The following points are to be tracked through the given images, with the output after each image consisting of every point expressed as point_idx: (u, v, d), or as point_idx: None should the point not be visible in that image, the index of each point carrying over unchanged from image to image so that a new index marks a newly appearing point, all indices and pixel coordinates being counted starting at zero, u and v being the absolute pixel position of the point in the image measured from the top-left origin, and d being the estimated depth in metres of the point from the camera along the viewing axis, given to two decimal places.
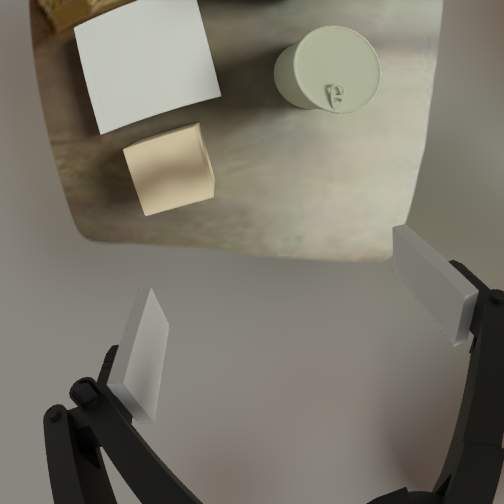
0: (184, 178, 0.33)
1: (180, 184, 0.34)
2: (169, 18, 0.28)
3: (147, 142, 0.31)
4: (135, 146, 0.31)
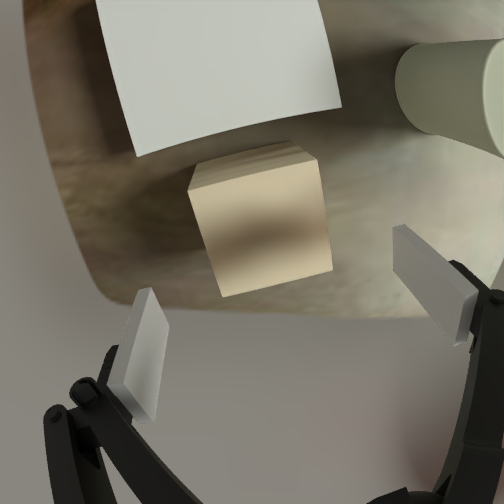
0: (293, 242, 0.21)
1: (285, 252, 0.21)
2: None
3: (234, 181, 0.19)
4: (211, 186, 0.19)
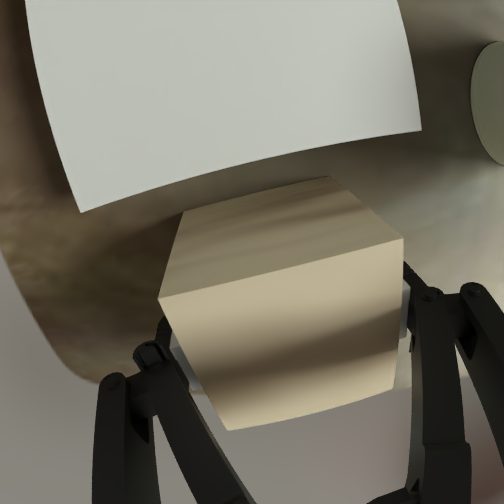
0: (343, 366, 0.12)
1: (328, 379, 0.12)
2: None
3: (248, 282, 0.10)
4: (203, 292, 0.10)
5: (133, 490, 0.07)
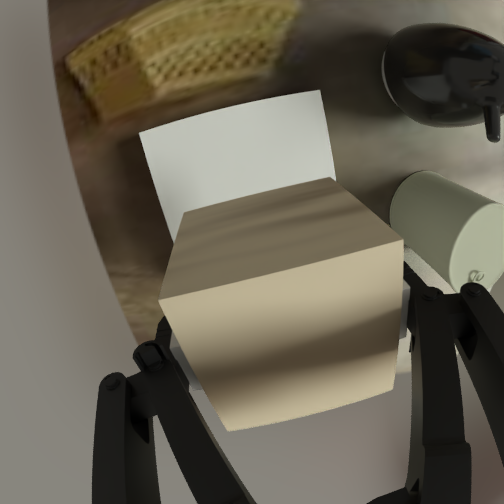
0: (344, 367, 0.12)
1: (328, 380, 0.12)
2: (289, 141, 0.25)
3: (248, 283, 0.10)
4: (203, 293, 0.10)
5: (133, 490, 0.07)
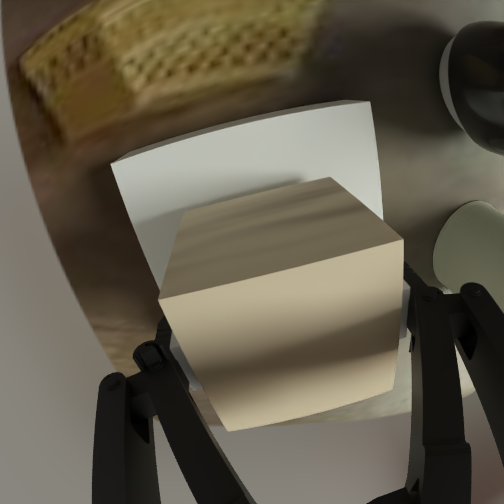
0: (344, 366, 0.12)
1: (328, 380, 0.12)
2: (325, 175, 0.18)
3: (248, 283, 0.10)
4: (203, 293, 0.10)
5: (133, 490, 0.07)
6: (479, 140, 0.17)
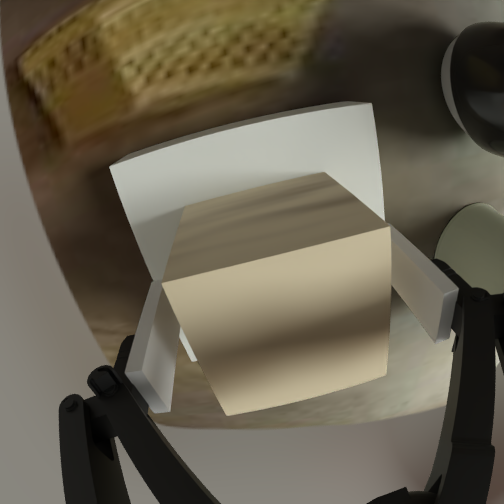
0: (337, 350, 0.13)
1: (323, 363, 0.13)
2: None
3: (245, 267, 0.11)
4: (203, 276, 0.11)
5: None
6: (481, 142, 0.16)
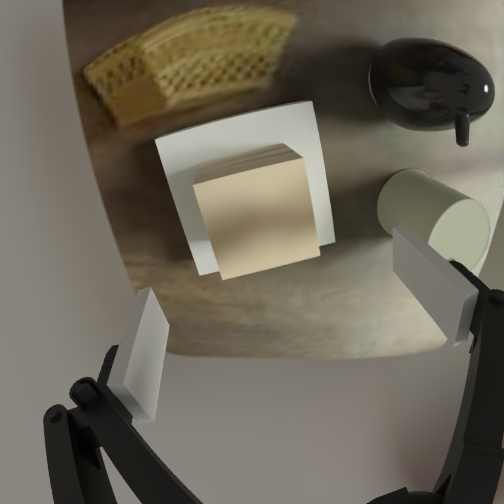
0: (284, 230, 0.24)
1: (277, 239, 0.25)
2: None
3: (232, 176, 0.22)
4: (213, 181, 0.22)
5: None
6: (394, 121, 0.28)
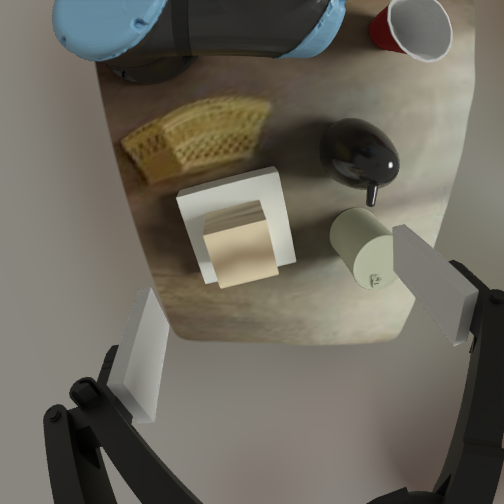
0: (256, 260, 0.42)
1: (252, 265, 0.42)
2: (260, 202, 0.47)
3: (225, 231, 0.40)
4: (214, 233, 0.40)
5: None
6: None
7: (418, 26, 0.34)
